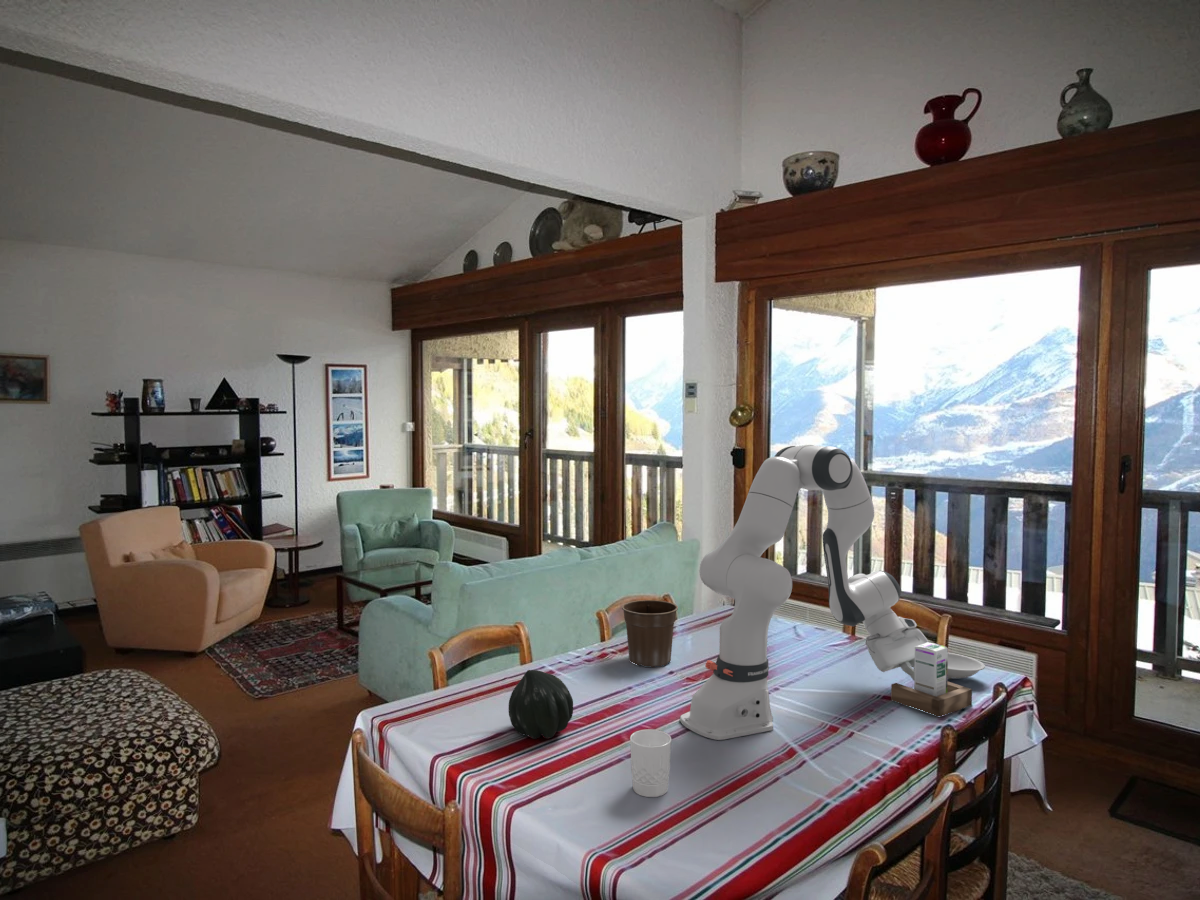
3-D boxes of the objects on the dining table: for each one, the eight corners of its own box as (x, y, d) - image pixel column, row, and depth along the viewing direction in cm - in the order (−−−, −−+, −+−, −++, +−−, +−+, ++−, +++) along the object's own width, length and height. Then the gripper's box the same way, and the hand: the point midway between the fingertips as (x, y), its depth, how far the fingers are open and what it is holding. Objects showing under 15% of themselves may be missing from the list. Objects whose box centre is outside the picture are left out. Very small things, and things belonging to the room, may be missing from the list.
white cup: (668, 778, 147) (668, 729, 147) (673, 799, 140) (673, 746, 139) (628, 779, 147) (628, 729, 147) (631, 799, 139) (631, 747, 139)
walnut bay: (938, 717, 177) (939, 701, 177) (890, 700, 188) (891, 684, 188) (971, 705, 185) (972, 689, 185) (923, 688, 196) (924, 673, 196)
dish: (907, 678, 204) (907, 660, 204) (922, 664, 215) (922, 647, 215) (977, 693, 193) (978, 674, 193) (989, 678, 204) (990, 660, 204)
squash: (595, 705, 170) (558, 650, 174) (559, 732, 157) (519, 672, 161) (557, 735, 176) (522, 681, 180) (519, 763, 163) (482, 704, 167)
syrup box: (935, 709, 182) (937, 651, 181) (912, 702, 187) (914, 645, 186) (947, 704, 186) (949, 646, 185) (925, 697, 190) (926, 641, 190)
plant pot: (612, 656, 221) (612, 602, 220) (659, 649, 228) (660, 597, 227) (637, 673, 207) (638, 616, 206) (687, 665, 213) (688, 610, 213)
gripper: (870, 631, 189) (903, 681, 182) (917, 619, 201) (951, 665, 193) (854, 644, 193) (887, 693, 186) (902, 631, 205) (934, 676, 197)
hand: (920, 678), depth 189 cm, fingers closed, pressing on syrup box
